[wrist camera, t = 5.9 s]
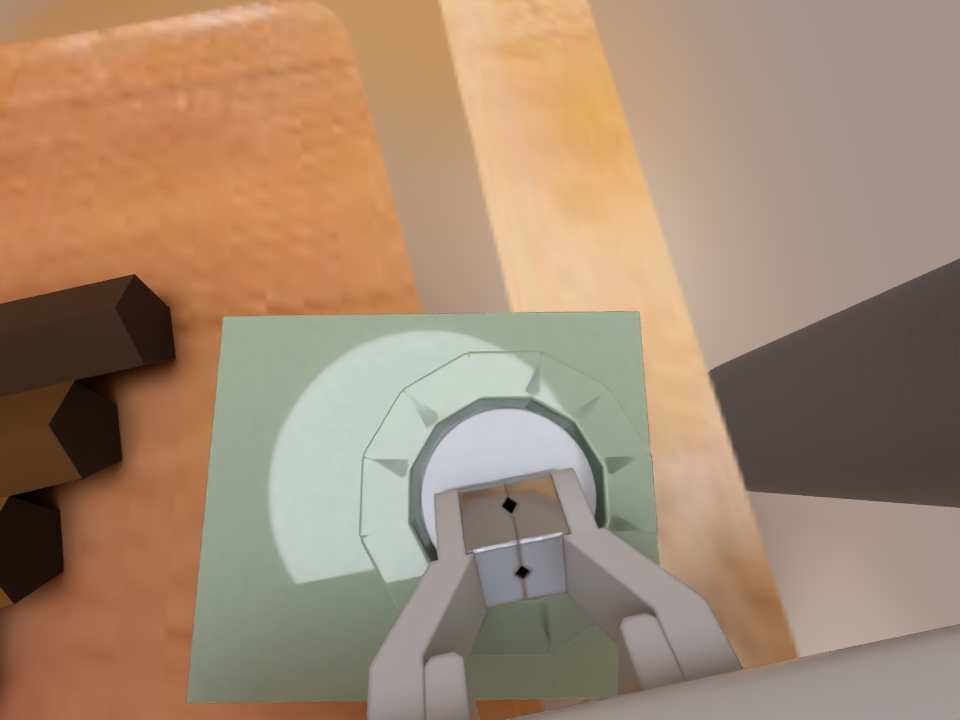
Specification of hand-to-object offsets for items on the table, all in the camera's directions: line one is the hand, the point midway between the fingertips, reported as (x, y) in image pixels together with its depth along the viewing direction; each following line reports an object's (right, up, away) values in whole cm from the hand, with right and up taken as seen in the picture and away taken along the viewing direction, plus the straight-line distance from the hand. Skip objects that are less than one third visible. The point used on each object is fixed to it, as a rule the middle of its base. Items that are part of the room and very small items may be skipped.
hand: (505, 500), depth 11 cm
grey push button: (0, 0, +3) cm, 3 cm away
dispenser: (-2, -2, +9) cm, 9 cm away
